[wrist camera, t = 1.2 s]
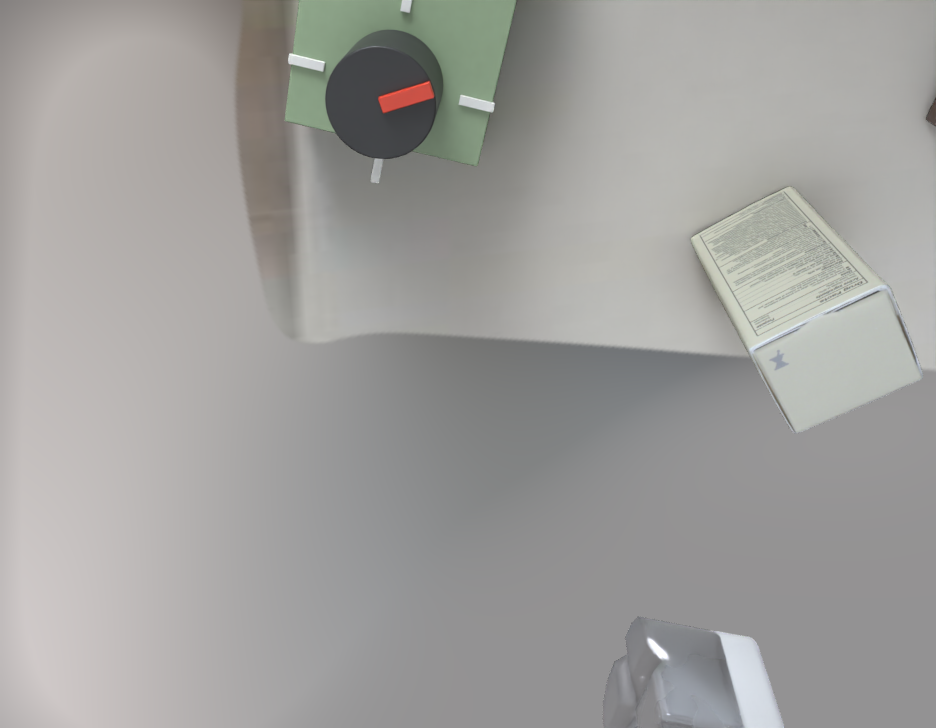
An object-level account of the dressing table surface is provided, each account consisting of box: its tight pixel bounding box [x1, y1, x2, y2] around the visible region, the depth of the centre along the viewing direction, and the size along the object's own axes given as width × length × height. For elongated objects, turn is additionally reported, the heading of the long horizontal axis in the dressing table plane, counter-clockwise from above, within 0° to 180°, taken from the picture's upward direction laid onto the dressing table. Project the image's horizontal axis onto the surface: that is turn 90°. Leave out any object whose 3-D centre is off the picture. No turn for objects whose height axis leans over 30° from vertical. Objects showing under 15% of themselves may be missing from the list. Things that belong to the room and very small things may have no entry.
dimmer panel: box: [285, 0, 517, 184], centre depth 35 cm, size 13×8×3 cm, turn 167°
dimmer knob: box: [325, 30, 443, 159], centre depth 33 cm, size 4×4×4 cm
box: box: [691, 187, 923, 433], centre depth 35 cm, size 5×4×11 cm
